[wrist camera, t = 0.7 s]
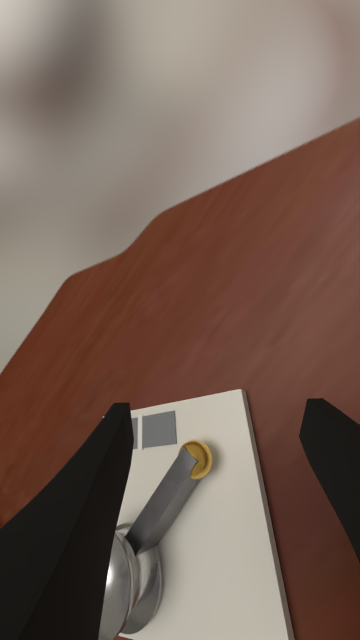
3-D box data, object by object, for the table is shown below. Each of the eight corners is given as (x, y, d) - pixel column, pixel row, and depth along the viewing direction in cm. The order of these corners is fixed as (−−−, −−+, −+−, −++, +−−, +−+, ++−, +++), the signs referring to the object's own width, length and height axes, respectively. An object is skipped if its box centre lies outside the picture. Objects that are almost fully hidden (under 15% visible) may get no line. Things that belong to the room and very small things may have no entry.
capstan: (129, 656, 20) (75, 706, 16) (90, 566, 25) (41, 588, 21) (243, 474, 21) (220, 479, 17) (187, 419, 26) (158, 414, 22)
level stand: (299, 666, 17) (295, 684, 15) (99, 618, 24) (84, 628, 23) (245, 391, 26) (240, 388, 24) (111, 417, 33) (101, 416, 32)
